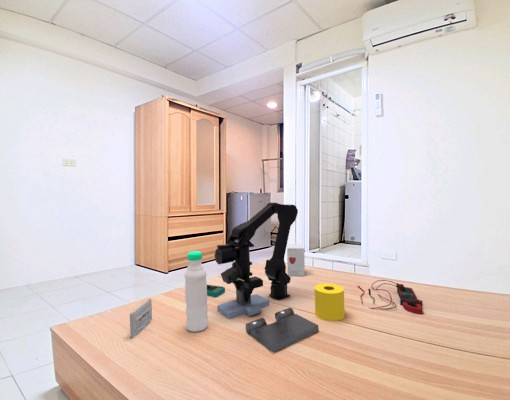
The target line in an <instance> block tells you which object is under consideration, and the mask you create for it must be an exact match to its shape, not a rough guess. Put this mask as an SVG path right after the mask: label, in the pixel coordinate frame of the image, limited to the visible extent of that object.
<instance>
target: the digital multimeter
mask: <svg viewBox="0 0 510 400" xmlns="http://www.w3.org/2000/svg"><path fill="white" fill-rule="evenodd" d="M225 292H226V287H225V286H220V285H218V286H217V285H211V284H207V297H211V296H212V298H218V297H220V296H221V295H223V294H224V293H225ZM219 295H220V296H219Z"/></svg>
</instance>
